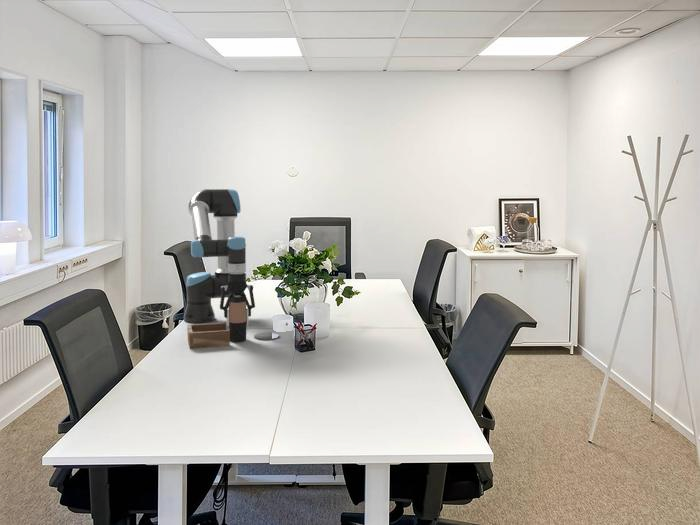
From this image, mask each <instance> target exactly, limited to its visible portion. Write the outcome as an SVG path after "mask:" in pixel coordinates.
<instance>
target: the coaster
mask: <svg viewBox="0 0 700 525" xmlns="http://www.w3.org/2000/svg"><path fill="white" fill-rule="evenodd" d="M272 332H273V331H272ZM272 332H271V331H263V332H258V333H255V334H254V336H253V337H254V339H256V340H259V341H272Z"/></svg>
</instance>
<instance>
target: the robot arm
mask: <svg viewBox="0 0 700 525" xmlns="http://www.w3.org/2000/svg"><path fill="white" fill-rule="evenodd" d="M190 198H191V199H190V200H189V203H188V212H189V215H190V216H191V221H192V229H193V238H194V239H193V240H191V242H190V252H191V253H190V254H191V256H192V257H193V258H214V257H217V268H216V269H215V270H214V274H211V272H208V271H201V272H195V273H192V274H190V275H189V274H188V275H187V277H186V284H185V287H186V307H185V311H184V314H183V321H184V322H186V323H190V324H191V323H193V324H204V323H209V322H212V321H215V319H216V314H215V311H214V309H213V306H212V299H220V303H219V309H220V310H222V311H223V315H224V316H223V317H224V318H225V319H226V327H227V326H228V327H229V296H230V297H233V295H235V294H242V296H243V297H244V296H246V318H247V323H246V325H249V323H250V322H249V318H250V317H252V309H255V308H256V303H255V298H254V292H253V291H254V286H253V285H252V284H247V273H246V271H247V270H246V269H247V268H246V267H247V266H246V265H247V264H246V262H247V260H246V258H247V257H246V256H247V255H246V253H247V252H246V249H247V248H246V247H247V243H246V238H245V237H243V236H235V233H236V232H235V220H236V218H238V214H240V213H241V210H242V209H241V201H240V196H239V193H238V191H237V190H235V189H231V188H230V189H228V188H227V189H225V188H223V189H220V188H219V189H218V188H217V189H216V188H213V189H209V188H206V189H201V190H199V191H198V192H196V193H195V194H194V195H193V196H192V197H190ZM209 214H213V219H215V220H216V239H213V236H212V232H211V225H210V217H209ZM246 289H247V290H248V292H249V298H250V302H249V300H248V297H247V295H246V293H245V290H246ZM225 298H227V300H226V302H225ZM250 303H251V304H250Z"/></svg>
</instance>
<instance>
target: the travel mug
mask: <svg viewBox="0 0 700 525" xmlns="http://www.w3.org/2000/svg"><path fill="white" fill-rule="evenodd" d="M246 298H247V295H246V296H244V297H243V296H242V294H235V295H233V297H230V296H229V307H228V310H229V326H228V330H229V331H230V343H243V342H246V341H247V324H246V323H247V318H246V309H247V305H246Z"/></svg>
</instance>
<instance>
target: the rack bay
mask: <svg viewBox="0 0 700 525" xmlns="http://www.w3.org/2000/svg"><path fill="white" fill-rule="evenodd" d="M186 325H187V326H186V327H187V330H186V331H187V343H188V347H189V349H205V348H214V347H217V348H218V347H227V346H229V347H230V344H231V341H230V331H229V329H227V321H226V322H211V323H209V322H207V323H193V324H186Z"/></svg>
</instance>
